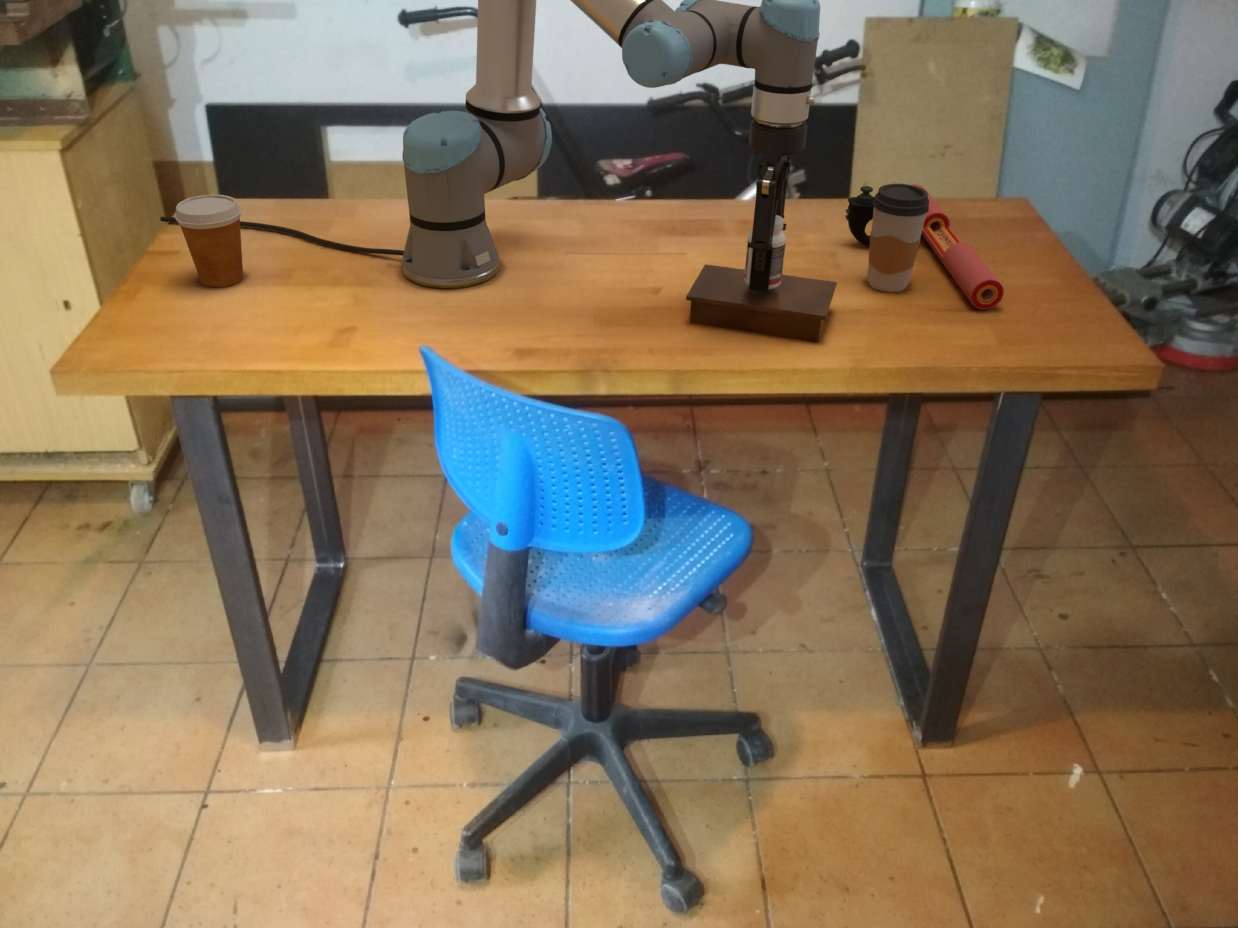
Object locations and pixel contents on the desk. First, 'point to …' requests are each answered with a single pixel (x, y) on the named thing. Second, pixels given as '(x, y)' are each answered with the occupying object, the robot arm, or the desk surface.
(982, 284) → the blood vessel
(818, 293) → the stand
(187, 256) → the desk surface
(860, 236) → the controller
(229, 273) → the disposable coffee cup
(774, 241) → the pill bottle
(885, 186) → the coffee cup
